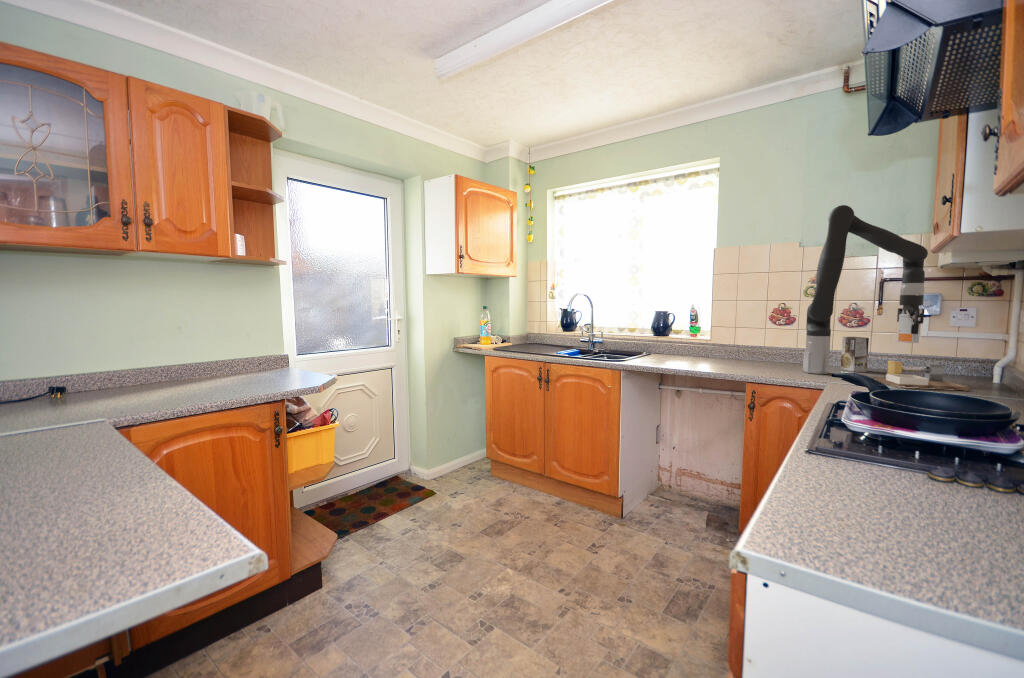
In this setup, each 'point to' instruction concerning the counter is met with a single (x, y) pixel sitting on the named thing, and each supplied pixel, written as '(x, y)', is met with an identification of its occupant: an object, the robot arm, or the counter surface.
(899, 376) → the sleeve
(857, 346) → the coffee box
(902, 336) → the skincare box
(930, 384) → the base plate
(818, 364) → the robot arm
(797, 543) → the counter surface
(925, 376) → the bearing block
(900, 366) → the shaft
